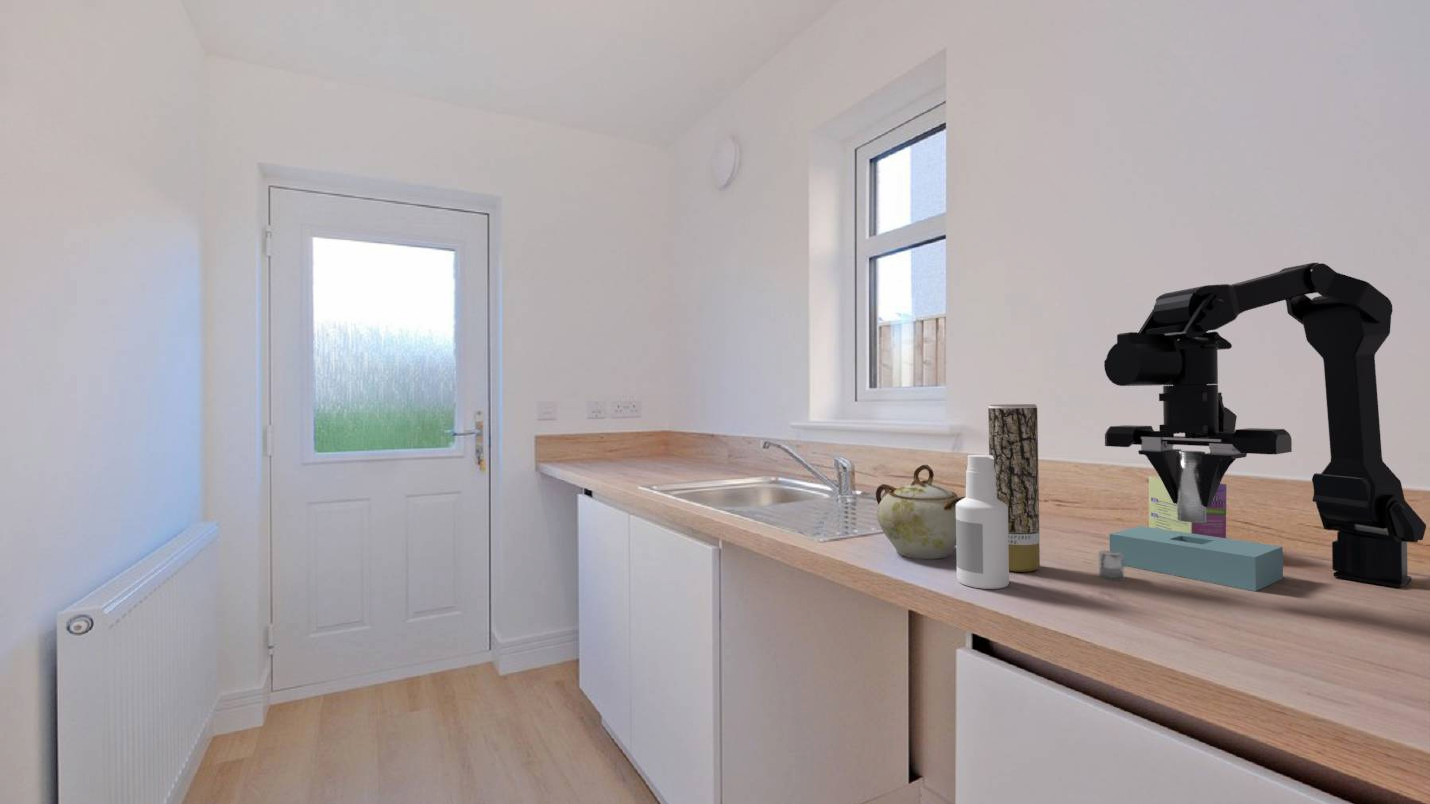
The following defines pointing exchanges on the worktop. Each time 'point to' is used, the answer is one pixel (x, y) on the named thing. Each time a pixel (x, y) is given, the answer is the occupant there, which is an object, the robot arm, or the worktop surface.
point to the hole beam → (1200, 557)
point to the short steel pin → (1111, 565)
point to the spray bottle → (982, 529)
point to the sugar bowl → (919, 517)
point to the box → (1166, 512)
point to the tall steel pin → (1190, 487)
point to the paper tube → (1017, 478)
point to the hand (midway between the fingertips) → (1191, 504)
